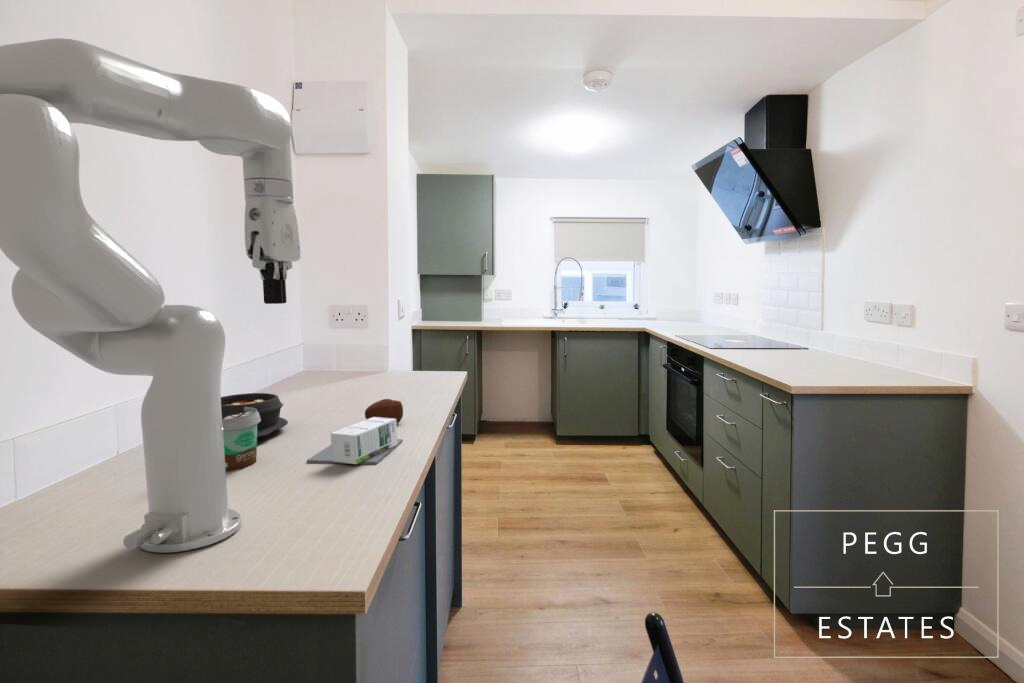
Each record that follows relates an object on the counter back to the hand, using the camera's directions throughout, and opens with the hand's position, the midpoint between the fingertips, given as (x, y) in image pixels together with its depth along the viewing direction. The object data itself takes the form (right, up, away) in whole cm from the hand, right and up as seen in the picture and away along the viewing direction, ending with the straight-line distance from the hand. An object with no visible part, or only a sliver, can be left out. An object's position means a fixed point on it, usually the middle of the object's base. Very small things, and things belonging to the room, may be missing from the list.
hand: (275, 303), depth 99 cm
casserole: (-22, -28, +36) cm, 51 cm away
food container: (-11, -30, +13) cm, 35 cm away
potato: (+9, -27, +42) cm, 51 cm away
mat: (+9, -29, +20) cm, 36 cm away
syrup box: (+8, -27, +10) cm, 30 cm away
